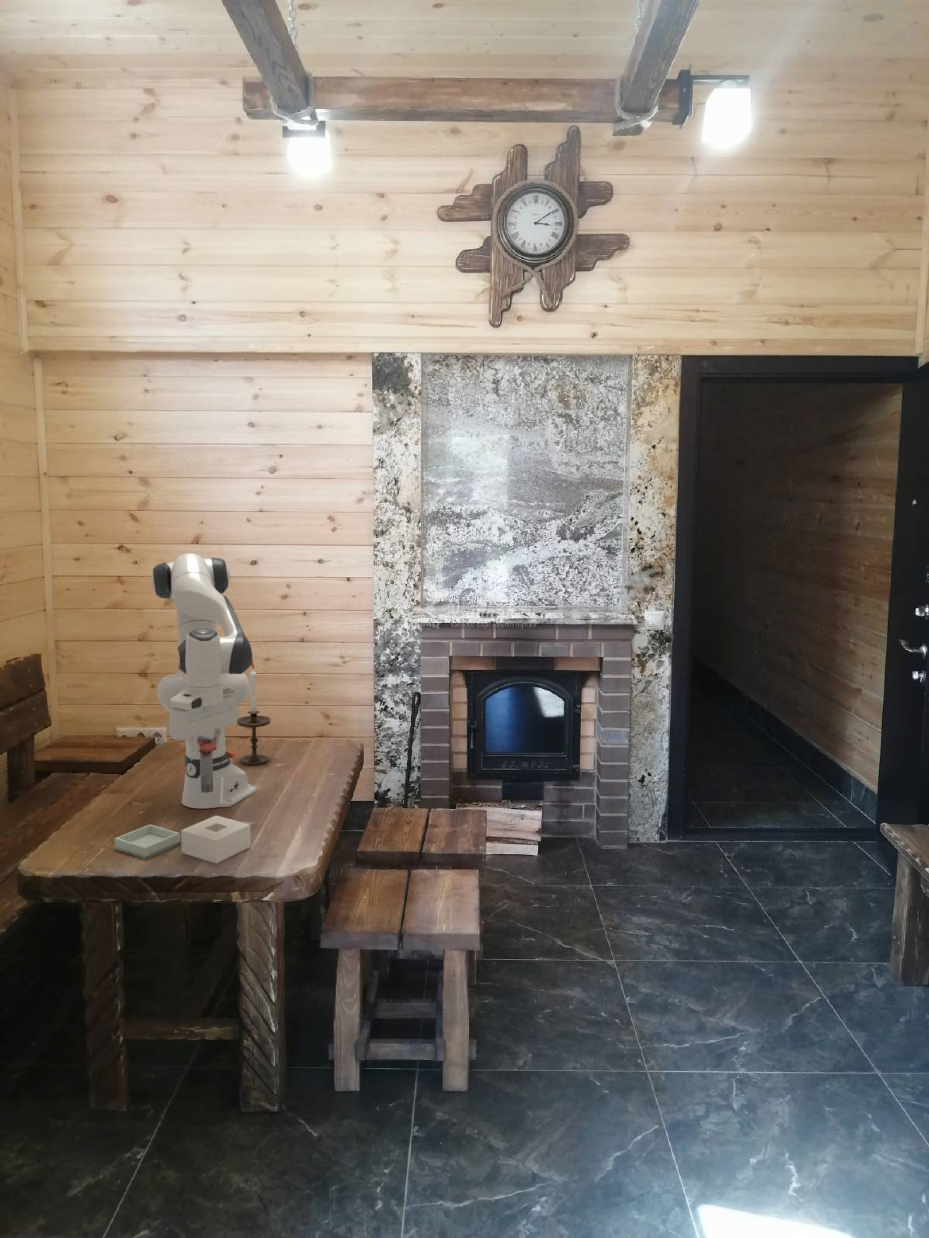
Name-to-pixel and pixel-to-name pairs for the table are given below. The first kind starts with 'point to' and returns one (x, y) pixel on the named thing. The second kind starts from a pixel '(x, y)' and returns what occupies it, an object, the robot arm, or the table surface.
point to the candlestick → (253, 726)
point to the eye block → (215, 839)
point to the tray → (147, 841)
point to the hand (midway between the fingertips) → (205, 748)
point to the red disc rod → (206, 762)
